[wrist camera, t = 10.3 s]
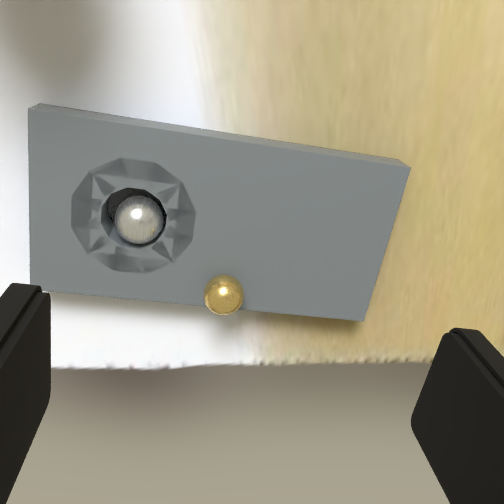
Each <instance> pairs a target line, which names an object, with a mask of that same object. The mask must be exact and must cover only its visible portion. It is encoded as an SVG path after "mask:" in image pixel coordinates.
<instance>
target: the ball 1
mask: <svg viewBox="0 0 504 504" xmlns="http://www.w3.org/2000/svg"><path fill="white" fill-rule="evenodd" d="M114 224H115V228H116V230H117V232H118V233H119V235H120V236H121V237H122V238H123V239H125V240H126V241H128V242H130V243H134V244H145V243H148V242H150V241H152V240H154V239H155V238H156V237H157V236H158V235H159V234H160V232H161V230H162V228H163V224H164V217H163V213H162V210H161V208H160V207H159V205H158V204H157V203H156V202H155V201H154V200H152V199H150V198H148V197H145V196H132V197H129V198H127V199H125V200H124V201H122V202H121V203H120V204H119V206H118V207H117V209H116V211H115V215H114Z"/></svg>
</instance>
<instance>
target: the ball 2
mask: <svg viewBox="0 0 504 504" xmlns="http://www.w3.org/2000/svg"><path fill="white" fill-rule="evenodd" d="M203 296H204V301H205V304H206V306H207V307H208V308H209V309H210V310H211V311H212V312H214V313H215V314H218V315H229V314H232V313H234V312H235V311H237V310H238V309H239V308H240V306H241V305H242V303H243V300H244V290H243V287H242V285H241V283H240V282H239V281H238V280H237V279H236V278H235V277H233V276H230V275H225V274H223V275H218V276H215V277H213V278H212V279H210V280H209V281H208V283H207V284H206V286H205V289H204V294H203Z"/></svg>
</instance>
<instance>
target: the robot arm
mask: <svg viewBox="0 0 504 504" xmlns="http://www.w3.org/2000/svg"><path fill="white" fill-rule="evenodd" d="M50 391H51V299H50V294H49V293H43V292H42V288H41V286H39V285H29V284H20V283H12V284H11V285H10V286H9V287H8V288H7V289H6V291H5V292H4V293H3V295H2V296H1V297H0V504H6V502H7V500H8V497H9V495H10V493H11V490H12V488H13V486H14V483H15V481H16V479H17V476H18V474H19V472H20V469H21V467H22V465H23V462H24V460H25V458H26V455H27V453H28V451H29V448H30V446H31V444H32V441H33V439H34V437H35V434H36V432H37V429H38V427H39V425H40V423H41V420H42V418H43V415H44V413H45V410H46V408H47V406H48V403H49V398H50ZM411 427H412V430H413V433H414V434H415V436H416V438H417V440H418V442H419V444H420V446H421V448H422V450H423V452H424V454H425V456H426V458H427V460H428V461H429V463H430V465H431V467H432V469H433V471H434V473H435V475H436V477H437V479H438V481H439V483H440V485H441V487H442V489H443V490H444V493H445V494H446V496H447V498H448V500H449V502H450V504H504V357H503V356H502V355H501V354H500V353H499V352H498V351H497V350H496V348H495V347H494V346H493V345H492V344H491V343H490V342H489V341H488V340H487V339H486V338H485V336H484V335H483V334H482V333H481V332H480V331H478V330H473V329H463V328H453V329H451V330H450V331H449V333H445V334H444V335H443V337H442V339H441V342H440V344H439V347H438V349H437V352H436V354H435V357H434V360H433V362H432V365H431V367H430V370H429V372H428V375H427V378H426V380H425V383H424V385H423V388H422V390H421V393H420V396H419V398H418V401H417V403H416V406H415V408H414V411H413V414H412V417H411Z"/></svg>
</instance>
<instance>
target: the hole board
mask: <svg viewBox="0 0 504 504" xmlns="http://www.w3.org/2000/svg"><path fill="white" fill-rule="evenodd" d="M28 152H29V231H30V285H39V286H41V288H42V291H51V292H62V293H72V294H83V295H93V296H104V297H114V298H125V299H135V300H145V301H156V302H166V303H177V304H187V305H198V306H206V304H205V301H204V296H203V294H204V289H205V286H206V284H207V283H208V281H209V280H210V279H212V278H213V277H215V276H218V275H223V274H225V275H230V276H233V277H235V278H236V279H237V280H238V281H239V282H240V283H241V285H242V287H243V290H244V300H243V303H242V305H241V306H240V308H239V310H250V311H260V312H271V313H281V314H292V315H302V316H313V317H323V318H334V319H344V320H354V321H364V318H365V315H366V312H367V309H368V305H369V302H370V299H371V296H372V292H373V289H374V286H375V283H376V280H377V276H378V273H379V270H380V267H381V263H382V260H383V257H384V254H385V250H386V247H387V244H388V241H389V237H390V234H391V231H392V228H393V224H394V221H395V218H396V215H397V211H398V208H399V205H400V202H401V199H402V195H403V192H404V189H405V186H406V182H407V179H408V176H409V173H410V169H411V167H409V166H407V165H406V164H404V163H403V162H401V161H399V160H398V159H392V158H385V157H379V156H372V155H366V154H360V153H353V152H347V151H340V150H334V149H328V148H321V147H315V146H308V145H302V144H296V143H289V142H283V141H276V140H270V139H264V138H257V137H251V136H244V135H238V134H232V133H225V132H219V131H212V130H206V129H200V128H193V127H187V126H180V125H174V124H168V123H161V122H155V121H148V120H142V119H136V118H129V117H123V116H116V115H110V114H104V113H97V112H91V111H84V110H78V109H72V108H65V107H59V106H52V105H46V104H38V105H35V106H33V107H31V108H29V109H28ZM127 187H129V188H136V189H144V190H146V191H148V192H149V193H151V194H152V195H153V196H155V197H156V198H158V199H159V200H160V201H161V204H162V206H163V208H164V210H165V212H166V214H167V220H166V221H165V222H164V224H163V228H162V230H161V232H160V234H159V235H158V236H157V237H156V238H155V239H154V240H152V241H150V242H148V243H145V244H134V243H130V242H128V241H126V240H125V239H123V238H122V237H121V236H120V235H119V233H118V232H117V230H116V228H115V225H114V224H113V222H112V220H111V218H110V216H109V214H108V212H107V199H108V197H109V196H110V195H111V194H112V193H114V192H117V191H119V190H122V189H124V188H127Z"/></svg>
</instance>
